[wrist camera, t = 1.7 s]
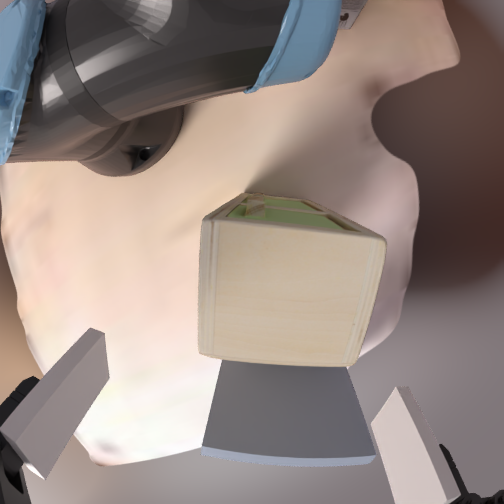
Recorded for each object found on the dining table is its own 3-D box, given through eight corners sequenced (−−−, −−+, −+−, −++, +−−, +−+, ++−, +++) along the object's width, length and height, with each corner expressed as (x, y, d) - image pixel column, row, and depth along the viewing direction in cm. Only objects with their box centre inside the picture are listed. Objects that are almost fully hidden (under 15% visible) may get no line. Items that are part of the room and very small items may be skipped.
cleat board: (240, 259, 33) (214, 347, 16) (366, 282, 33) (436, 368, 16) (226, 346, 36) (201, 454, 19) (337, 362, 36) (369, 463, 19)
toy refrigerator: (312, 193, 31) (394, 224, 10) (304, 255, 32) (354, 371, 12) (242, 185, 31) (196, 200, 10) (236, 248, 33) (192, 358, 12)
